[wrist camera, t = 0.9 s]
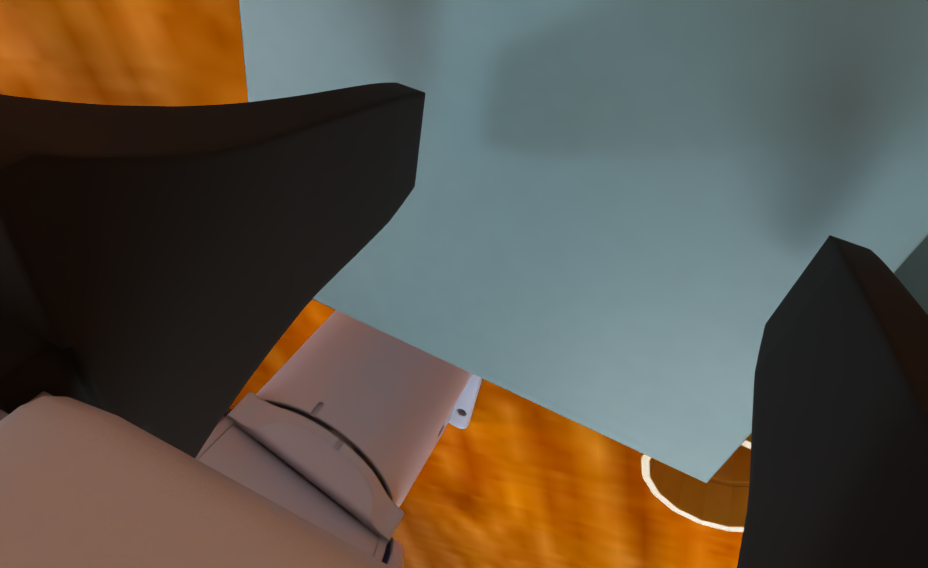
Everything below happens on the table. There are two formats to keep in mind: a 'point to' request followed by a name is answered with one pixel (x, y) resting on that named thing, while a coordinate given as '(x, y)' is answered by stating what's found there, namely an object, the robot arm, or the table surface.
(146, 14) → the table surface
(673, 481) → the bowl
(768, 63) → the cabinet
